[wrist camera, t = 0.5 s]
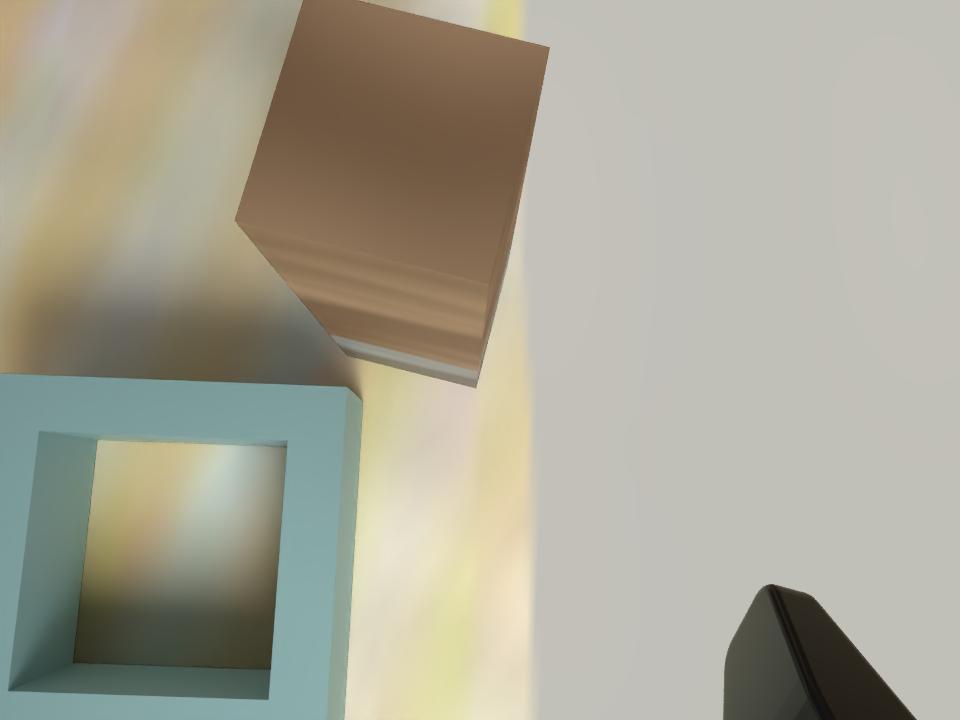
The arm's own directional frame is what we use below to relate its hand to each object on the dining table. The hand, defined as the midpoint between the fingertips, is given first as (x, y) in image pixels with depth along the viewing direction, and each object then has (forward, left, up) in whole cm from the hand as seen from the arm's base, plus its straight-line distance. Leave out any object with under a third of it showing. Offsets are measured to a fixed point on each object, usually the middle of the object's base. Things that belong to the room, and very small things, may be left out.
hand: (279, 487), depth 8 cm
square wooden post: (+5, -2, -14) cm, 15 cm away
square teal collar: (0, +5, -14) cm, 15 cm away
